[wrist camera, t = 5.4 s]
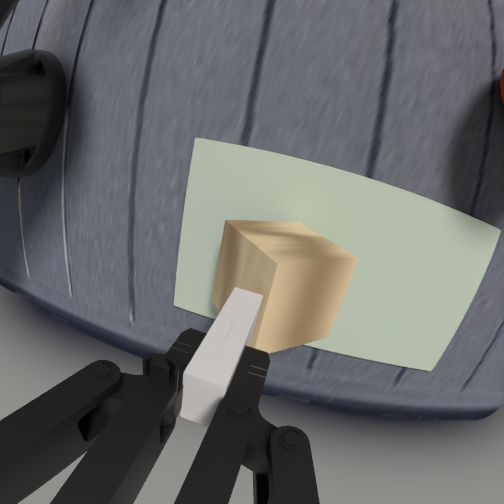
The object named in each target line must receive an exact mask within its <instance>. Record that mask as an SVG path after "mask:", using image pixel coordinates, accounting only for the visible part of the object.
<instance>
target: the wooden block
mask: <svg viewBox="0 0 504 504" xmlns="http://www.w3.org/2000/svg"><path fill="white" fill-rule="evenodd" d="M357 261H358V258H357V257H355V256H354V255H352V254H350V253H349V252H347V251H346V250H344V249H342V248H341V247H339V246H338V245H336V244H334V243H333V242H331V241H330V240H328V239H326V238H325V237H323V236H321V235H320V234H318V233H317V232H315V231H313V230H312V229H310V228H308V227H307V226H305V225H303V224H302V223H300V222H282V221H253V220H225V224H224V229H223V235H222V241H221V246H220V252H219V258H218V264H217V270H216V276H215V282H214V288H213V294H212V302H213V303H214V305H215V306H216V308H217V309H218V311H219V312H220V311H221V310H222V308H223V306H224V305H225V303H226V301H227V300H228V298H229V296H230V295H231V293H232V291H233V290H234V288H235V287H237V288H240V289H243V290H247V291H250V292H253V293H257V294H260V295H264V296H263V299H262V303H261V307H260V310H259V314H258V318H257V321H256V325H255V328H254V332H253V336H252V339H251V341H250V344H249V347H252V348H255V349H258V350H262V351H265V352H268V353H273V352H276V351H280V350H284V349H288V348H292V347H296V346H299V345H303V344H306V343H310V342H313V341H317V340H320V339H324V338H327V337H328V335H329V333H330V330H331V328H332V326H333V323H334V321H335V318H336V316H337V313H338V311H339V308H340V306H341V303H342V301H343V298H344V296H345V293H346V291H347V288H348V285H349V283H350V280H351V277H352V274H353V272H354V269H355V266H356V263H357Z"/></svg>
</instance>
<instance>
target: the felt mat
mask: <svg viewBox="0 0 504 504" xmlns="http://www.w3.org/2000/svg"><path fill="white" fill-rule="evenodd" d="M225 220H253V221H282V222H300V223H302V224H303V225H305V226H307V227H308V228H310V229H312V230H313V231H315V232H317V233H318V234H320V235H321V236H323V237H325V238H326V239H328V240H330V241H331V242H333V243H334V244H336V245H338V246H339V247H341V248H342V249H344V250H346V251H347V252H349V253H350V254H352V255H354V256H355V257H357V258H358V261H357V263H356V266H355V269H354V272H353V274H352V277H351V280H350V283H349V285H348V288H347V291H346V293H345V296H344V298H343V301H342V303H341V306H340V308H339V311H338V313H337V316H336V318H335V321H334V323H333V326H332V328H331V330H330V333H329V335H328V337H327V338H324V339H320V340H317V341H313V342H310V343H306V344H303V345H307V346H311V347H315V348H319V349H323V350H327V351H331V352H336V353H340V354H344V355H349V356H353V357H358V358H363V359H367V360H372V361H377V362H382V363H387V364H393V365H398V366H403V367H409V368H415V369H421V370H427V371H432V369H433V368H434V366H435V365H436V363H437V362H438V360H439V359H440V357H441V355H442V354H443V352H444V351H445V349H446V347H447V346H448V344H449V342H450V341H451V339H452V337H453V336H454V334H455V332H456V330H457V328H458V327H459V325H460V323H461V321H462V319H463V317H464V316H465V314H466V312H467V310H468V308H469V306H470V304H471V302H472V300H473V298H474V296H475V294H476V291H477V289H478V287H479V285H480V283H481V281H482V278H483V276H484V274H485V271H486V269H487V267H488V264H489V262H490V259H491V257H492V254H493V252H494V249H495V246H496V244H497V241H498V238H499V235H500V232H501V230H500V229H498V228H496V227H494V226H492V225H490V224H487V223H485V222H483V221H481V220H479V219H476V218H474V217H472V216H470V215H467V214H465V213H462V212H460V211H458V210H455V209H453V208H450V207H448V206H446V205H443V204H441V203H438V202H435V201H433V200H430V199H428V198H425V197H422V196H420V195H417V194H414V193H411V192H409V191H406V190H403V189H400V188H397V187H394V186H391V185H388V184H385V183H382V182H379V181H376V180H373V179H370V178H367V177H364V176H360V175H357V174H354V173H350V172H347V171H344V170H340V169H337V168H333V167H330V166H326V165H322V164H319V163H315V162H311V161H307V160H303V159H299V158H295V157H291V156H287V155H283V154H278V153H274V152H269V151H265V150H260V149H256V148H251V147H246V146H241V145H236V144H230V143H225V142H219V141H214V140H208V139H202V138H195V143H194V149H193V154H192V160H191V166H190V173H189V179H188V186H187V192H186V199H185V206H184V214H183V221H182V229H181V237H180V246H179V255H178V265H177V275H176V285H175V297H174V306H176V307H179V308H182V309H185V310H188V311H191V312H194V313H197V314H200V315H203V316H206V317H209V318H212V319H216V318H217V316H218V315H219V313H220V312H219V311H218V309H217V308H216V306H215V305H214V303H213V302H212V294H213V288H214V282H215V276H216V270H217V264H218V258H219V252H220V246H221V241H222V235H223V229H224V224H225Z"/></svg>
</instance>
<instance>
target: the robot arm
mask: <svg viewBox="0 0 504 504" xmlns="http://www.w3.org/2000/svg"><path fill="white" fill-rule="evenodd" d="M18 2H19V0H0V29H1V28H2V26H3V24H4V23H5V21H6V20H7V18H8V17H9V15H10V14H11V12H12V11H13V9H14V8H15V6H16V5H17V3H18ZM64 106H65V79H64V73H63V69H62V66H61V64H60V62H59V60H58V59H57V57H56V56H55V55H54V54H52V53H50V52H48V51H43V50H36V49H28V50H23V51H20V52H16V53H12V54H9V55H5V56H2V57H0V176H2V177H8V178H16V177H20V176H24V175H29V174H32V173H34V172H35V171H37V170H38V169H39V168H40V167H41V166H42V165H43V164H44V163H45V161H46V160H47V158H48V157H49V155H50V153H51V151H52V149H53V147H54V145H55V142H56V140H57V137H58V134H59V131H60V127H61V123H62V118H63V113H64ZM263 296H264V295H260V294H257V293H253V292H250V291H247V290H243V289H240V288H237V287H235V288H234V290H233V291H232V293H231V295H230V296H229V298H228V300H227V301H226V303H225V305H224V306H223V308H222V310H221V311H220V313H219V315H218V316H217V318H216V320H215V321H214V323H213V325H212V326H211V328H210V330H209V331H208V333H207V334H206V333H203V332H200V331H197V330H194V329H192V328H190V329H188V330H186V331H184V332H182V333H181V334H180V336H179V337H178V338H177V340H176V342H174V344H173V345H172V347H171V348H170V349H169V351H168V352H167V353H166V355H165V354H151V355H148V356H146V357H145V358H144V359H143V375H133V374H127V373H121V372H120V369H119V367H118V366H117V365H116V364H114V363H113V362H111V361H107V360H98V361H95V362H93V363H91V364H89V365H88V366H86V367H85V368H83V369H81V370H80V371H78V372H77V373H75V374H74V375H72V376H70V377H69V378H67V379H66V380H64V381H62V382H61V383H59V384H58V385H56V386H55V387H53V388H52V389H50V390H48V391H47V392H45V393H44V394H42V395H40V396H39V397H37V398H36V399H34V400H32V401H31V402H29V403H28V404H26V405H25V406H23V407H21V408H20V409H18V410H16V411H15V412H13V413H12V414H10V415H9V416H7V417H5V418H4V419H2V420H1V421H0V504H17V503H19V502H20V501H21V500H23V499H24V498H26V497H27V496H28V495H30V494H31V493H33V492H34V491H35V490H37V489H38V488H40V487H41V486H42V485H43V484H45V483H46V482H48V481H49V480H50V479H52V478H53V477H54V476H55V475H57V474H58V473H60V472H61V471H62V470H63V469H65V468H66V467H67V466H68V465H70V464H71V463H72V462H74V461H75V460H76V459H77V458H79V457H80V456H81V455H83V454H84V453H85V452H86V451H87V453H86V454H85V455H84V457H83V458H82V460H81V461H80V462H79V464H78V465H77V466H76V468H75V469H74V471H73V472H72V474H71V475H70V476H69V478H68V479H67V481H66V482H65V483H64V485H63V486H62V487H61V489H60V490H59V492H58V493H57V495H56V496H55V497H54V499H53V500H52V502H51V503H50V504H133V503H134V501H135V499H136V497H137V495H138V494H139V492H140V490H141V488H142V486H143V484H144V483H145V481H146V479H147V477H148V475H149V473H150V472H151V470H152V468H153V466H154V464H155V463H156V461H157V459H158V457H159V455H160V453H161V451H162V450H163V448H164V446H165V444H166V442H167V440H168V438H169V436H170V435H171V433H172V431H173V429H174V427H175V423H176V417H177V415H178V414H179V412H180V417H183V418H186V419H188V420H191V421H193V422H196V423H199V424H202V425H204V426H207V427H208V430H207V432H206V434H205V436H204V439H203V441H202V443H201V446H200V448H199V450H198V452H197V455H196V457H195V459H194V461H193V464H192V466H191V468H190V470H189V472H188V474H187V477H186V479H185V481H184V483H183V485H182V487H181V490H180V492H179V494H178V496H177V498H176V500H175V503H174V504H228V502H229V500H230V497H231V494H232V490H233V488H234V485H235V482H236V479H237V475H238V472H239V469H240V466H241V464H242V465H243V466H245V467H246V468H248V469H250V470H252V471H253V493H254V504H320V503H319V497H318V491H317V484H316V478H315V472H314V466H313V460H312V454H311V449H310V442H309V439H308V437H307V435H306V434H305V433H304V432H303V431H302V430H300V429H298V428H296V427H293V426H281V427H279V428H278V427H276V426H274V425H272V424H271V423H269V422H268V421H266V420H265V419H264V418H263V417H262V416H261V414H260V412H259V408H258V404H259V400H260V396H261V393H262V389H263V385H264V382H265V378H266V375H267V371H268V367H269V363H270V359H269V356H268V352H265V351H262V350H258V349H255V348H252V347H249V344H250V341H251V339H252V336H253V332H254V328H255V325H256V321H257V318H258V314H259V310H260V307H261V303H262V299H263Z"/></svg>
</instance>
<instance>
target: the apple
mask: <svg viewBox="0 0 504 504" xmlns="http://www.w3.org/2000/svg"><path fill="white" fill-rule="evenodd" d="M500 87H501V99H502V101H503V104H504V69H503V71H502V75H501V81H500Z"/></svg>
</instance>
